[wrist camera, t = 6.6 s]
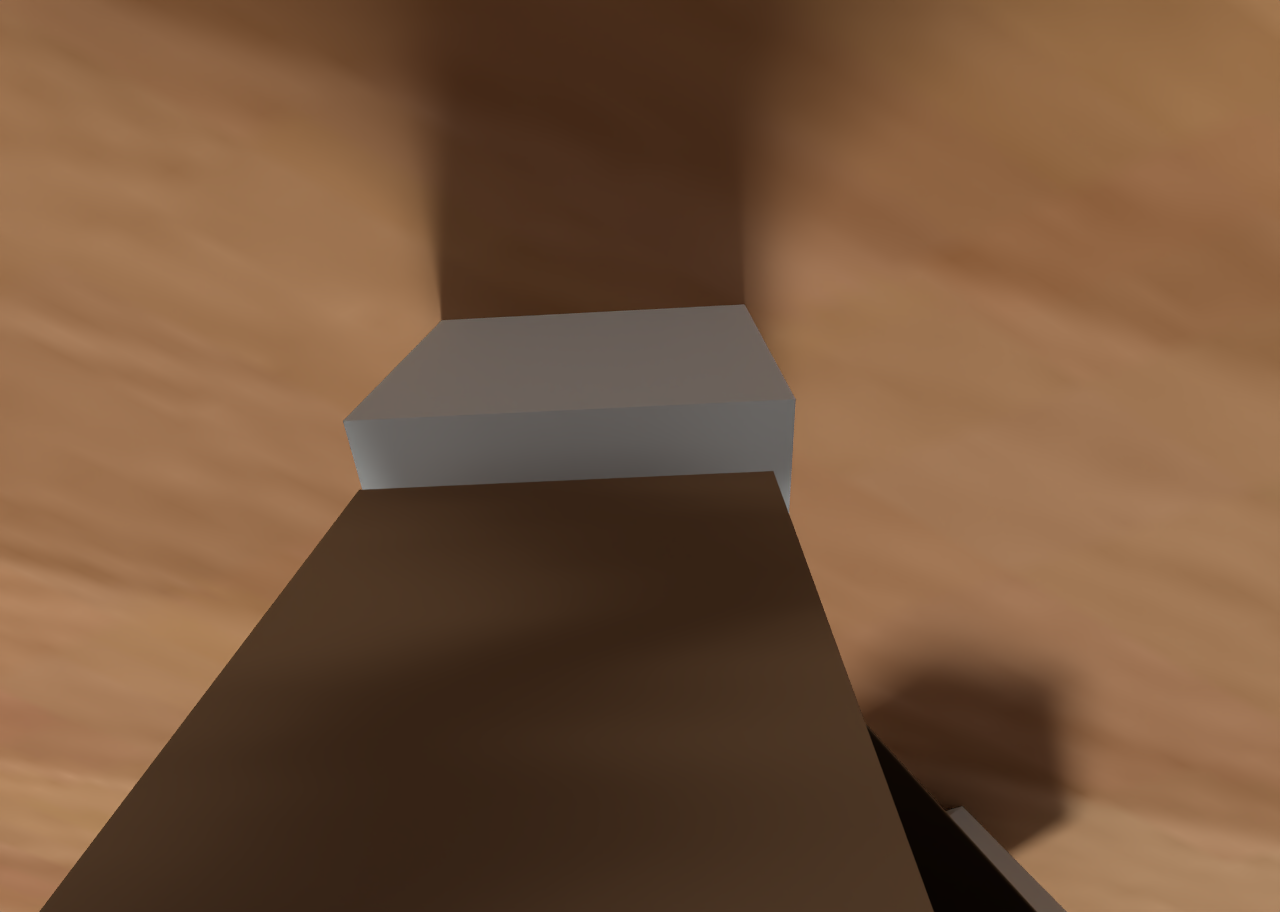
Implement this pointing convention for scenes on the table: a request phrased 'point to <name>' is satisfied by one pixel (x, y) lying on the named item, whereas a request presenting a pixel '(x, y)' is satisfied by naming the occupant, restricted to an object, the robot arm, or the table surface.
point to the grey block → (578, 401)
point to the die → (1005, 862)
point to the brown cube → (524, 722)
